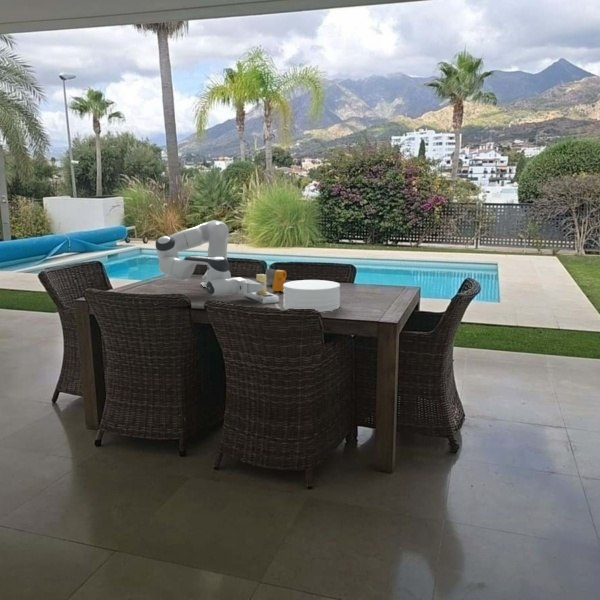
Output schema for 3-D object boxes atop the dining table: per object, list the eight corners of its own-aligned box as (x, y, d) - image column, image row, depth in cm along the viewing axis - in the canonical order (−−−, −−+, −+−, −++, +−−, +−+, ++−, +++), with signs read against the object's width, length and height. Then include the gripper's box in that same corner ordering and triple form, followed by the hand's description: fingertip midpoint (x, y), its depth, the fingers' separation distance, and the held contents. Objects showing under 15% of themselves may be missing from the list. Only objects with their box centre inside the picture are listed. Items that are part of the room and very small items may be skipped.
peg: (256, 298, 310) (256, 274, 307) (263, 297, 311) (263, 273, 309) (259, 299, 306) (259, 275, 303) (266, 299, 308) (266, 275, 305)
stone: (287, 286, 346) (287, 270, 344) (282, 287, 342) (281, 270, 340) (269, 283, 356) (269, 267, 354) (264, 284, 353) (264, 268, 351)
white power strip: (245, 295, 317) (245, 290, 317) (260, 294, 321) (260, 289, 321) (262, 303, 296) (262, 298, 296) (278, 302, 300) (278, 296, 300)
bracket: (283, 293, 325) (283, 271, 323) (272, 292, 329) (272, 271, 326) (292, 290, 335) (292, 269, 332) (281, 289, 338) (281, 268, 336)
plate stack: (337, 301, 303) (337, 279, 301) (342, 313, 276) (342, 289, 273) (283, 301, 302) (283, 280, 300) (283, 313, 275) (283, 289, 272)
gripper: (231, 288, 311) (255, 286, 317) (245, 294, 293) (270, 292, 299) (231, 276, 310) (255, 275, 316) (245, 282, 292) (270, 280, 298)
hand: (262, 283), depth 307 cm, fingers open, 4 cm apart
